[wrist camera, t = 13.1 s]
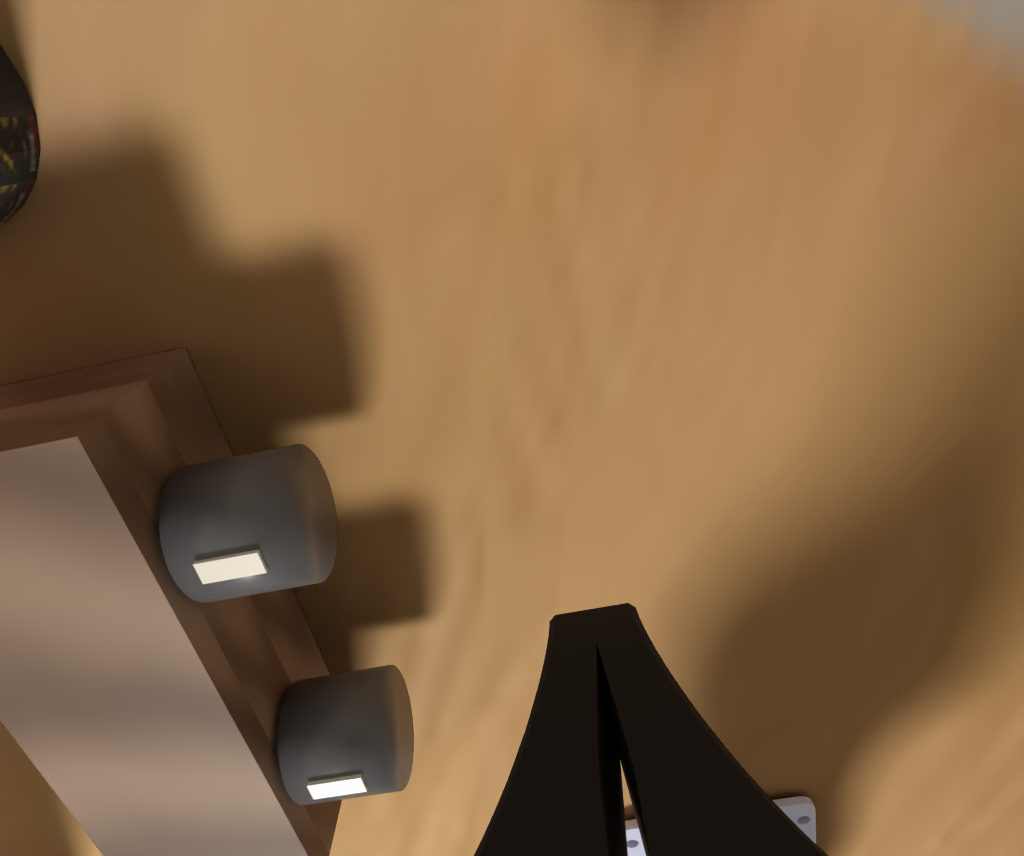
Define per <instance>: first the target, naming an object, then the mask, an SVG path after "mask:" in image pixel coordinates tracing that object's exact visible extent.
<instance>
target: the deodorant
mask: <svg viewBox="0 0 1024 856" xmlns="http://www.w3.org/2000/svg"><path fill="white" fill-rule="evenodd" d="M39 154H40V145H39V137H38V130H37V122H36V115H35V113H34V110H33V107H32V105H31V102H30V99H29V97H28V94H27V91H26V89H25V86H24V83H23V81H22V79H21V77H20V76H19V74H18V72H17V71H16V69H15V68H14V66H13V65H12V63H11V61H10V60H9V58H8V57H7V55H6V53H5V52H4V50H3V49H2V47H1V45H0V225H1V224H3V223H6V222H7V221H8V220H9V219H10V218H11V217H12V216H13V215H14V214H15V213H16V212H17V211H18V210H19V209H20V208H21V207H22V206H23V205H24V203H25V201H26V199H27V197H28V195H29V193H30V191H31V189H32V187H33V185H34V183H35V181H36V177H37V169H38V162H39Z"/></svg>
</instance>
